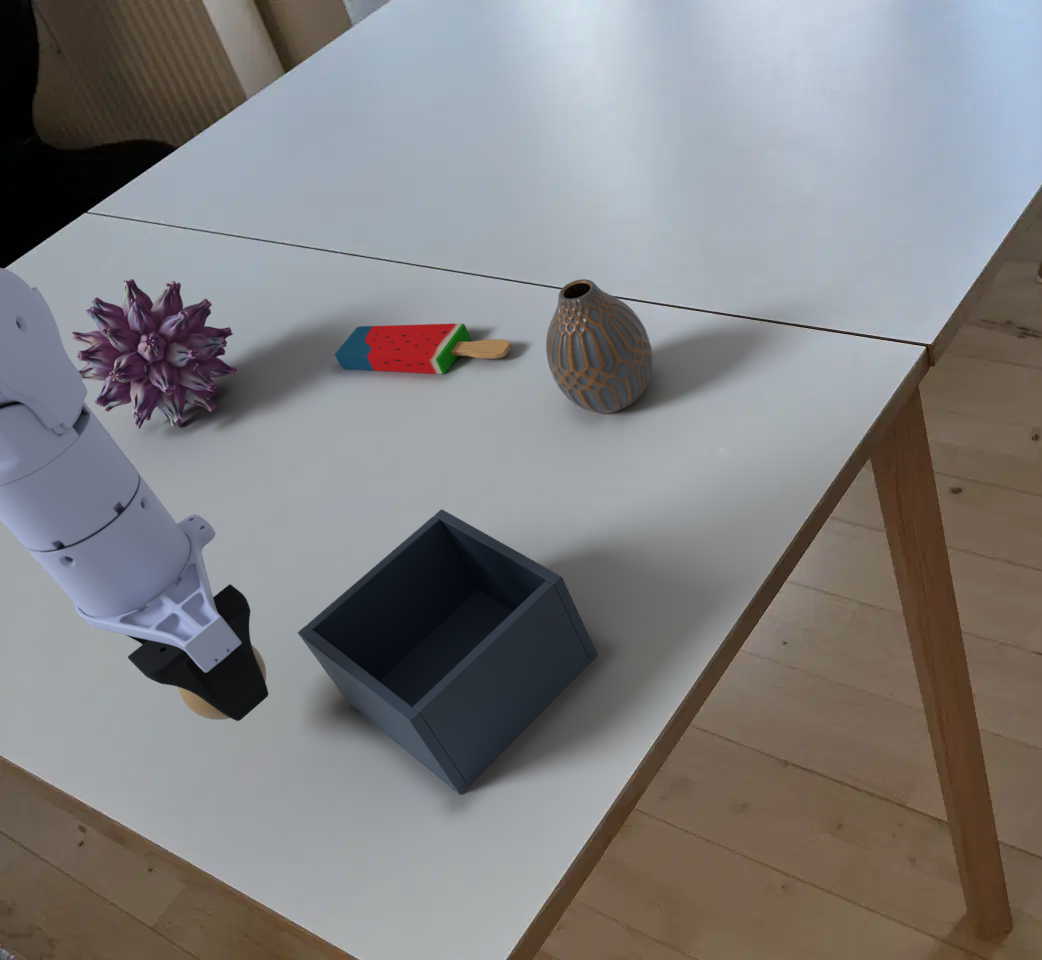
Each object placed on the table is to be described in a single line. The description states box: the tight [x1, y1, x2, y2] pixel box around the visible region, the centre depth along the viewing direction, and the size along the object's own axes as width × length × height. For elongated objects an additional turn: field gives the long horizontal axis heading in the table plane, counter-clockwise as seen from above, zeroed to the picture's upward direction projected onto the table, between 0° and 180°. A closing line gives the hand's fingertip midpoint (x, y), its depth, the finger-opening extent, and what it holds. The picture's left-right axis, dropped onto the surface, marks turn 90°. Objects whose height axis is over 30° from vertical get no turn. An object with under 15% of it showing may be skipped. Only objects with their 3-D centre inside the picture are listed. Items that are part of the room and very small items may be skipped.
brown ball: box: [177, 643, 267, 721], centre depth 58 cm, size 4×4×4 cm
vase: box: [545, 278, 653, 414], centre depth 73 cm, size 7×7×9 cm
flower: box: [71, 278, 238, 430], centre depth 86 cm, size 12×12×12 cm
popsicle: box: [334, 322, 512, 375], centre depth 86 cm, size 5×2×15 cm
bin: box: [297, 508, 599, 796], centre depth 58 cm, size 10×10×6 cm
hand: (229, 686), depth 59 cm, fingers closed on brown ball, 4 cm apart
